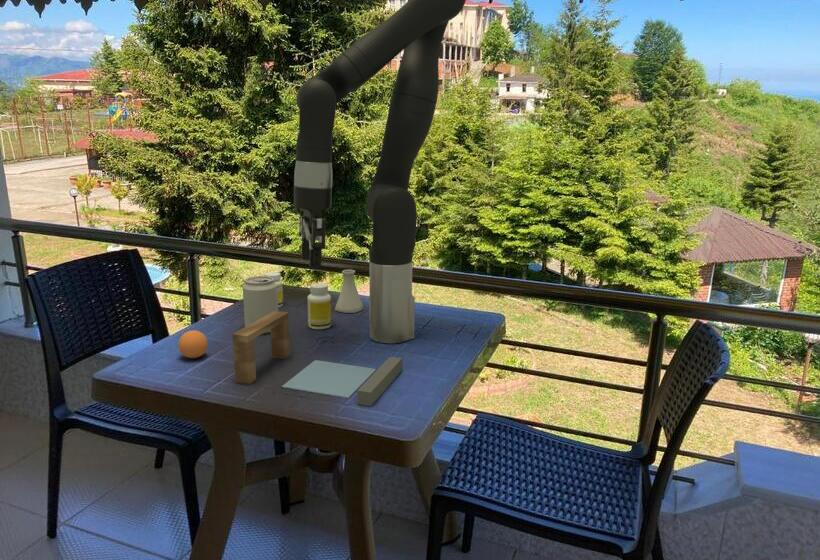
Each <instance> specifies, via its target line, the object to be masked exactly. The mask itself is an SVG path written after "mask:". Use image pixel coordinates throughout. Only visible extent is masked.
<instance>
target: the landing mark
mask: <svg viewBox="0 0 820 560" xmlns="http://www.w3.org/2000/svg"><path fill="white" fill-rule="evenodd" d="M376 371H377V369H376V368H371V367H366V366H365V367H364V366H359V365H352V364H344V363H339V362H337V363H336V362H332V361H331V362H330V361H323V360H318V359H317V360H316V359H314V360H313V361H312V362H311V363H309V364H308V365H307V366H306V367H304V368H303V369H302V370H300V371H299V372H298V373H297V374H295V375H294V376H293V377H292V378H291V379H289V380H288V381H286V382H285V383H284V384H283V385H281V388H282V387H283V388H284V389H289V388H290V389H289V390H295V391H302V392H308V393H315V394H319V395H325V396H331V397H337V398H344V399H350V398H351V396H353V395H354V393H355V392H357V390H358V389H359V388H360V387H361V386H362V385H363V384H364V383H365V382H366V381H367V380H368V379H369V378H370V377H371V376H372V375H373V374H374V373H375V372H376ZM283 388H282V389H283Z"/></svg>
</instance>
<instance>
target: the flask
mask: <svg viewBox="0 0 820 560" xmlns="http://www.w3.org/2000/svg"><path fill="white" fill-rule="evenodd" d="M355 273H356V270H354V269H344V270H342V271H341V274H342V275H343V276H342V279H343V280H342V286H341V289H340V293H339V296H338V299H337V301H336V304H335V307H334V311H336V312H339V313H343V314H344V313H348V314H350V313H351V314H354V313H357V312H361V311H362V310H364V304H363V302H362V300H361V297H360V294H359V291H358V289H357V286H356V282H355Z"/></svg>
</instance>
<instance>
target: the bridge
mask: <svg viewBox="0 0 820 560" xmlns="http://www.w3.org/2000/svg"><path fill="white" fill-rule="evenodd" d="M289 320H290V319H289V312H288V311H280V310H278V311H274V312H272V313H270V314H268V315H266V316H265V317H263V318H261V319H259V320H257V321H256V322H254V323H252V324H250V325H248V326H246V327H245V326H244V327H243V328H241V329H239V330H237V331H236V332H234V333H233V334H232V345H233V362H234V377H235V383H241V384H247V385H251V384H253V383H254V382H256V381H257V371H256V369H257V368H256V355H255V339H256V338H258V337H259V336H261V335H263V333H265V332H266V331H268V330H270V331H271V332H270V348H271V349H270V350H271V358H273V359H274V358H275V359H280V360H281V359H282V360H286V359H288V358H289V357H291V348H290V347H291V346H290V324H289V323H290V321H289ZM265 334H266V333H265Z"/></svg>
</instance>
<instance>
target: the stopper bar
mask: <svg viewBox="0 0 820 560" xmlns="http://www.w3.org/2000/svg"><path fill="white" fill-rule="evenodd" d="M402 371H403V357H396V356H389V357H388V358H387V359H386V360H385V361H384V362H383V364H382V365H380V366H379V368H378V369H376V371H375V372H374V373H373V374H372V375H371V376H370V377H369V378H368V379H367V380H366V381H365V382H364V383H363V384H362V385H361V386H360V387H359V388H358V389H357V390H356V393H357V399H356V400H357V405H361V406H365V407H368V406H369V407H371V406H373V404H374V403H375V402H376V401H377V400H378V399H379V397H380V396H381V395H382V394H383V393H384V392H385V391H386V389H387V388H389V386H390V385H391V383H393V382H394V380H395V379H396V378H397V377H398V376H399V375H400V374H401V372H402Z"/></svg>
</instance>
